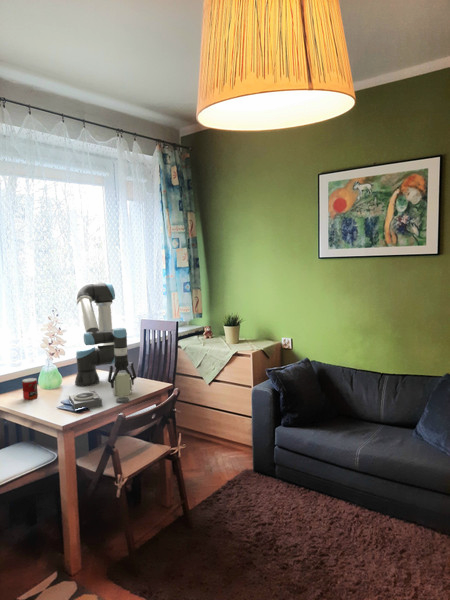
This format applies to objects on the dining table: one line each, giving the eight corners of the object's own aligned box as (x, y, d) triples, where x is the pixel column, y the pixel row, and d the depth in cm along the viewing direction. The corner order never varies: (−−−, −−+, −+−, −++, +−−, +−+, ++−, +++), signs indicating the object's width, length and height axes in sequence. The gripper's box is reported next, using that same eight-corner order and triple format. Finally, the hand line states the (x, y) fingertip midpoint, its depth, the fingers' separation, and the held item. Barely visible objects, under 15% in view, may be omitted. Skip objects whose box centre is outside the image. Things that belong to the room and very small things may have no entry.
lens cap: (114, 401, 241) (114, 398, 241) (126, 398, 244) (126, 396, 244) (118, 404, 235) (118, 402, 235) (131, 402, 239) (131, 399, 238)
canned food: (31, 400, 245) (29, 381, 244) (20, 399, 248) (18, 380, 247) (41, 396, 253) (39, 378, 252) (30, 395, 255) (29, 377, 254)
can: (126, 396, 248) (125, 376, 247) (112, 395, 250) (111, 375, 249) (133, 391, 257) (132, 372, 256) (119, 391, 259) (118, 371, 258)
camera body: (69, 402, 241) (68, 393, 240) (94, 397, 248) (94, 389, 247) (75, 411, 225) (74, 401, 225) (102, 406, 232) (101, 397, 232)
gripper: (103, 358, 243) (105, 396, 245) (141, 353, 254) (142, 390, 256) (100, 355, 250) (102, 393, 252) (137, 351, 260) (138, 387, 262)
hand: (122, 391), depth 254 cm, fingers open, 9 cm apart
